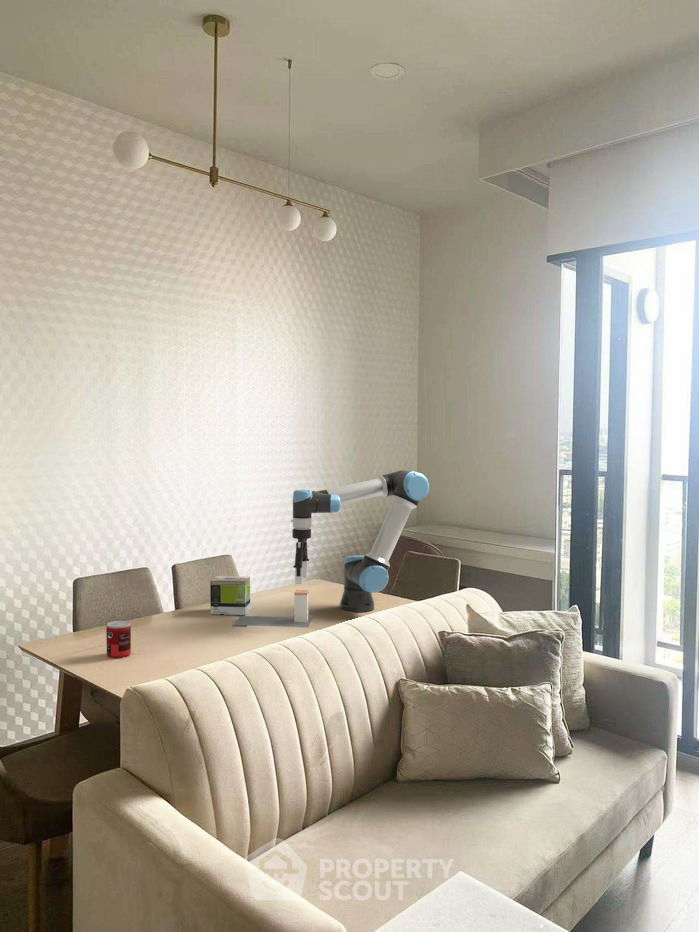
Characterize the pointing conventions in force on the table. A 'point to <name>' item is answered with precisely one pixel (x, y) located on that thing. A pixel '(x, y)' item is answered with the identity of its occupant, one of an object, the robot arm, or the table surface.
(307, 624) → the rubber mat
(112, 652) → the canned food
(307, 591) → the cream block
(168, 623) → the table surface
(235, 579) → the tea box
